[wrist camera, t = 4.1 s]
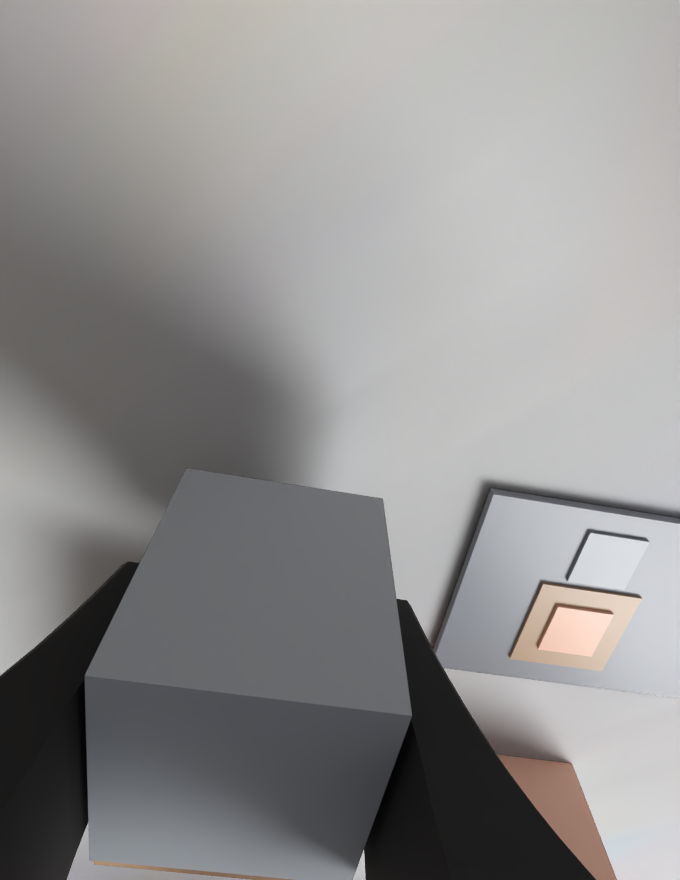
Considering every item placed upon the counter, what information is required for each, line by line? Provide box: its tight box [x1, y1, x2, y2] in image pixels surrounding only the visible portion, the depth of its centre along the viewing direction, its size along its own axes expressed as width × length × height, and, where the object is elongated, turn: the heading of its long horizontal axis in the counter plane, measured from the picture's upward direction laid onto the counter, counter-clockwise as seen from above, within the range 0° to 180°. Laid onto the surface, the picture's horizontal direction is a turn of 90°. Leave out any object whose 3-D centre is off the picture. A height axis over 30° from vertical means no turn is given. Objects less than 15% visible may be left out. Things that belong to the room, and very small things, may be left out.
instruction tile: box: [433, 488, 680, 699], centre depth 15 cm, size 8×6×1 cm
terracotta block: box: [497, 755, 617, 880], centre depth 17 cm, size 4×4×5 cm
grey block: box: [85, 468, 412, 880], centre depth 10 cm, size 4×4×5 cm
